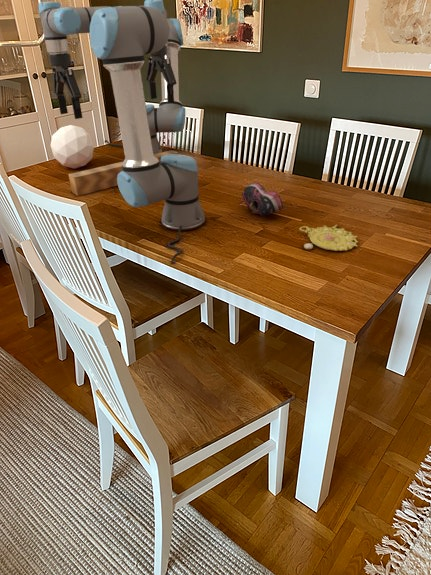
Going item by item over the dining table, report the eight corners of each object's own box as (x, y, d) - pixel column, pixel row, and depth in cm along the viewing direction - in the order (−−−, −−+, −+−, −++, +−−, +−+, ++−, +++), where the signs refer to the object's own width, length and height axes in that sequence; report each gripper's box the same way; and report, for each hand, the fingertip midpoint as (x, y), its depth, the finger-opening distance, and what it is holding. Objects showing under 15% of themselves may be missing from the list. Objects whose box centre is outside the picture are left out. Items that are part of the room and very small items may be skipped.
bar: (77, 196, 181) (74, 177, 177) (72, 192, 184) (68, 174, 180) (179, 169, 207) (178, 152, 203) (172, 166, 211) (171, 150, 207)
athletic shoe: (254, 181, 170) (227, 189, 167) (283, 176, 151) (253, 185, 147) (260, 210, 173) (234, 218, 170) (290, 209, 154) (261, 219, 150)
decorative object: (343, 255, 128) (285, 234, 139) (342, 262, 130) (284, 241, 140) (372, 230, 142) (317, 213, 152) (371, 237, 143) (316, 219, 153)
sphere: (81, 183, 214) (66, 157, 195) (51, 163, 218) (34, 136, 200) (107, 156, 219) (95, 128, 200) (77, 137, 223) (63, 108, 205)
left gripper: (182, 45, 173) (186, 103, 184) (149, 42, 189) (154, 95, 201) (166, 46, 169) (171, 105, 181) (133, 43, 185) (139, 98, 197)
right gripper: (83, 53, 151) (94, 118, 162) (55, 51, 168) (67, 110, 179) (62, 55, 147) (75, 122, 158) (36, 52, 164) (49, 113, 175)
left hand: (162, 100), depth 191 cm, fingers open, 13 cm apart
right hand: (71, 116), depth 169 cm, fingers open, 13 cm apart
